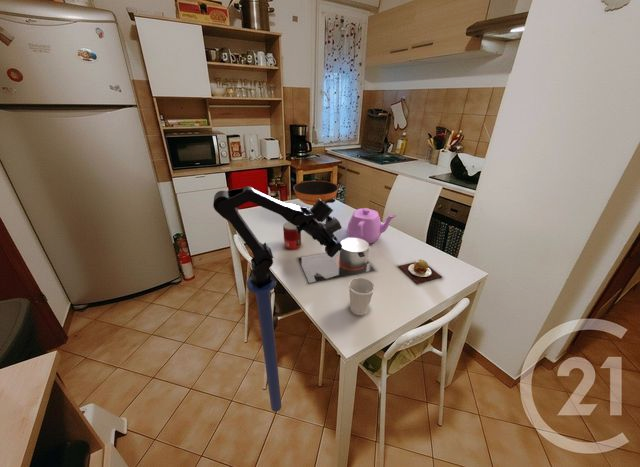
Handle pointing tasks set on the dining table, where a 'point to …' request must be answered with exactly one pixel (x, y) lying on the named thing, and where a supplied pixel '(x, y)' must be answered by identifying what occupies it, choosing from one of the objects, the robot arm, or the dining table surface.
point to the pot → (354, 252)
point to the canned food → (291, 236)
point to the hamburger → (419, 271)
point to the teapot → (367, 225)
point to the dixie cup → (360, 295)
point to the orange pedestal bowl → (315, 191)
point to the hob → (328, 267)
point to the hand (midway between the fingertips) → (340, 249)
